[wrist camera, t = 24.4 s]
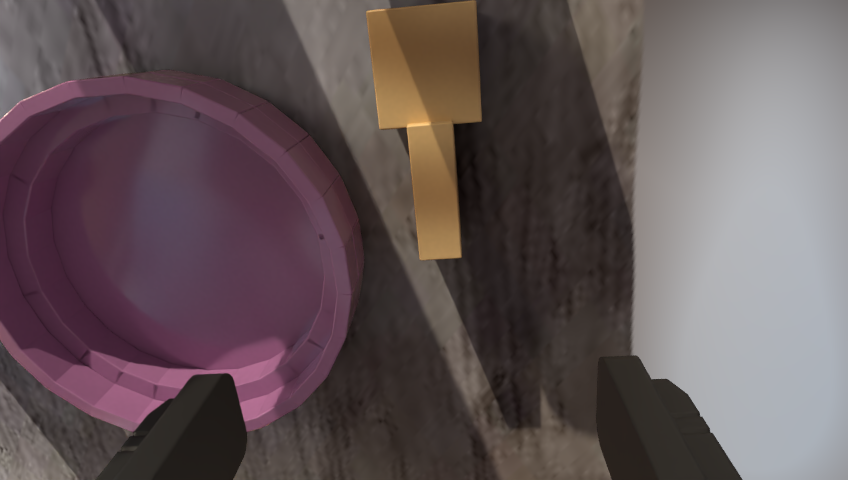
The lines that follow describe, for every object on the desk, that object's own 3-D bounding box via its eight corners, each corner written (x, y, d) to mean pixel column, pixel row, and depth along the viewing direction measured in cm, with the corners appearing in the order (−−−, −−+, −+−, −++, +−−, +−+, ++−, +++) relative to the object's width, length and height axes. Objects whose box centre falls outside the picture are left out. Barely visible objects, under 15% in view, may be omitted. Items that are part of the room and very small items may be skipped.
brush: (484, 230, 32) (489, 256, 28) (400, 235, 32) (392, 262, 28) (473, 3, 27) (476, -1, 24) (375, 12, 28) (363, 10, 24)
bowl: (-26, 87, 30) (-113, 97, 26) (338, 53, 29) (316, 58, 24) (89, 394, 37) (37, 445, 33) (383, 381, 36) (373, 433, 31)
